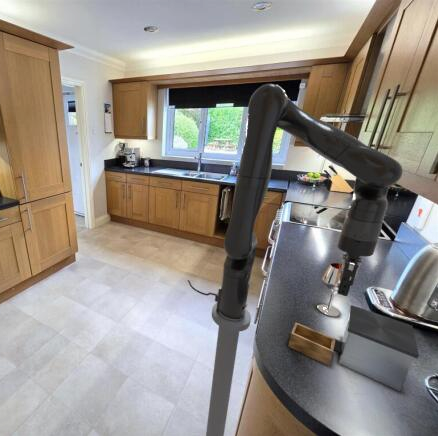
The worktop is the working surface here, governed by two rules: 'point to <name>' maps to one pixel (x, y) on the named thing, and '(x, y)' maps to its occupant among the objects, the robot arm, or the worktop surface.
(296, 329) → the open wooden box
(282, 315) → the worktop surface
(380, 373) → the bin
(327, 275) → the wineglass
